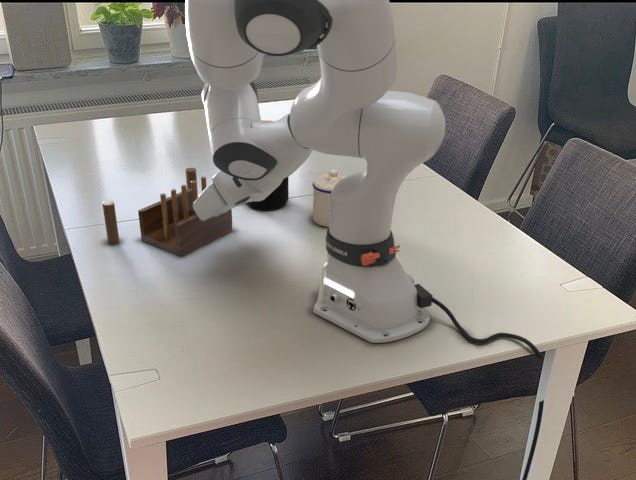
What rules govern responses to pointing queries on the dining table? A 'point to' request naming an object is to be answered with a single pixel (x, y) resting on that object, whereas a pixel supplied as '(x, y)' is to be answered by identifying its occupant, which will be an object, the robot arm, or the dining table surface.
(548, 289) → the dining table surface
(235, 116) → the robot arm
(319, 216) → the teacup with lid
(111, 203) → the marker posts
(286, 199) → the coffee jar
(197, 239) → the plate rack
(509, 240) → the dining table surface
